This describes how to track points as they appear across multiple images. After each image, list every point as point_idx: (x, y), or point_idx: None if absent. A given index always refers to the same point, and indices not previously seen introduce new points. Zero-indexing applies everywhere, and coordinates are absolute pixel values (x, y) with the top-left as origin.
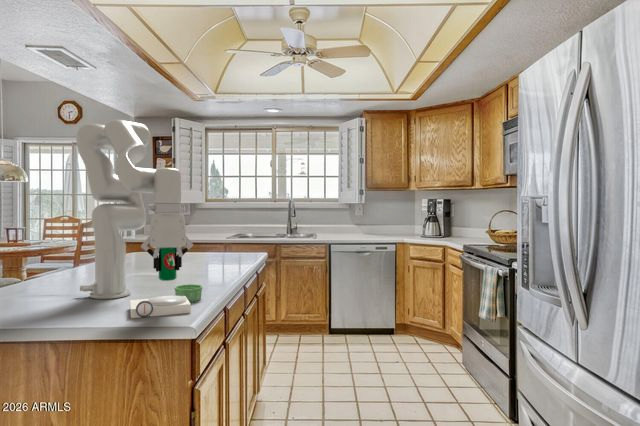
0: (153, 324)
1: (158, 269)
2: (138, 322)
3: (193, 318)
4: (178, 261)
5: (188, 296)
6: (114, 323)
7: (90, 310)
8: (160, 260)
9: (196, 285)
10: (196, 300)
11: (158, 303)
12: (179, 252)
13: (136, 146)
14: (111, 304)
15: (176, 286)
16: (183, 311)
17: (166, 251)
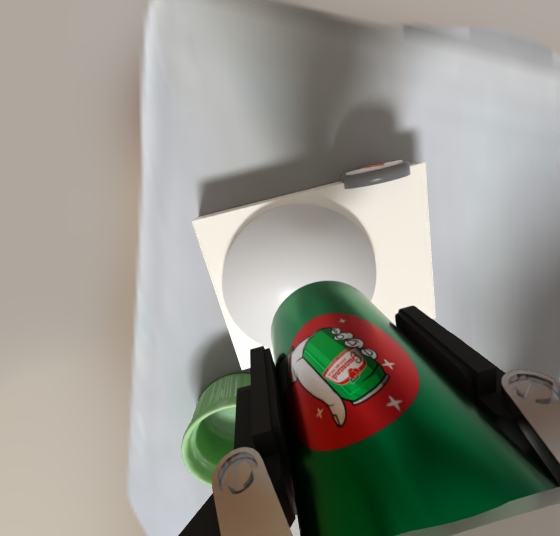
0: (315, 48)
1: (405, 316)
2: (373, 95)
3: (169, 118)
4: (260, 394)
5: (233, 385)
6: (453, 98)
7: (529, 293)
8: (437, 367)
9: None
10: (208, 387)
11: (327, 214)
12: (254, 507)
13: None
14: None
15: None
16: (224, 210)
17: (448, 437)
